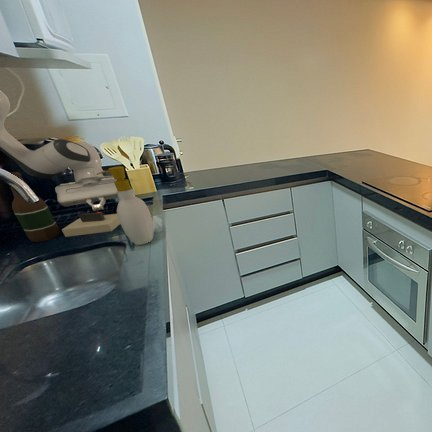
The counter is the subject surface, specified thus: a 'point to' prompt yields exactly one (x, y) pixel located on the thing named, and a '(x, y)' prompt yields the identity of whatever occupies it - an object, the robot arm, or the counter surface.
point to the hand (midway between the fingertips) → (98, 209)
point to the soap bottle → (131, 210)
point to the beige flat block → (92, 226)
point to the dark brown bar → (92, 217)
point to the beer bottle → (34, 217)
